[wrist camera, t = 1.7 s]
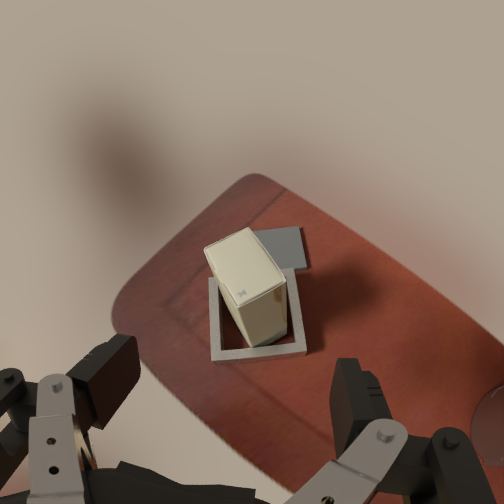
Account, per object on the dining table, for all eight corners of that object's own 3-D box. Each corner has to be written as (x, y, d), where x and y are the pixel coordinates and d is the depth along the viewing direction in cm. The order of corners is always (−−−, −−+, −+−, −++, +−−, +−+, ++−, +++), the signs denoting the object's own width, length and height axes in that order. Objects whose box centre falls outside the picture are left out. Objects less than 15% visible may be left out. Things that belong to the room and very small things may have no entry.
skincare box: (288, 334, 33) (291, 283, 23) (253, 353, 32) (238, 312, 22) (259, 288, 36) (249, 223, 26) (225, 306, 35) (201, 247, 25)
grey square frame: (305, 355, 31) (307, 350, 29) (215, 365, 32) (211, 360, 30) (293, 276, 36) (293, 267, 35) (212, 286, 37) (208, 277, 35)
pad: (306, 269, 37) (307, 267, 36) (256, 275, 37) (255, 273, 36) (298, 228, 40) (298, 226, 39) (252, 234, 40) (251, 231, 40)
